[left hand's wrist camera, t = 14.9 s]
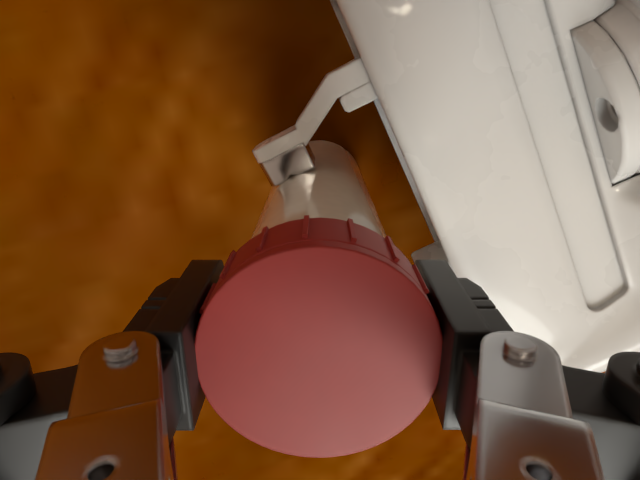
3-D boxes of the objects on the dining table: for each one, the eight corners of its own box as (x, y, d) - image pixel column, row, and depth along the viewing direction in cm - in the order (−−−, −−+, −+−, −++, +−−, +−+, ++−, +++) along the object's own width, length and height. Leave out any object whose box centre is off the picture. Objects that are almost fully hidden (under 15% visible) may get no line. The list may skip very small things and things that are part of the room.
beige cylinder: (261, 191, 24) (178, 366, 10) (309, 122, 22) (292, 209, 9) (328, 236, 25) (339, 457, 11) (377, 173, 23) (464, 327, 9)
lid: (264, 428, 12) (254, 487, 10) (170, 261, 10) (141, 298, 9) (452, 368, 11) (475, 420, 10) (385, 178, 10) (399, 202, 8)
